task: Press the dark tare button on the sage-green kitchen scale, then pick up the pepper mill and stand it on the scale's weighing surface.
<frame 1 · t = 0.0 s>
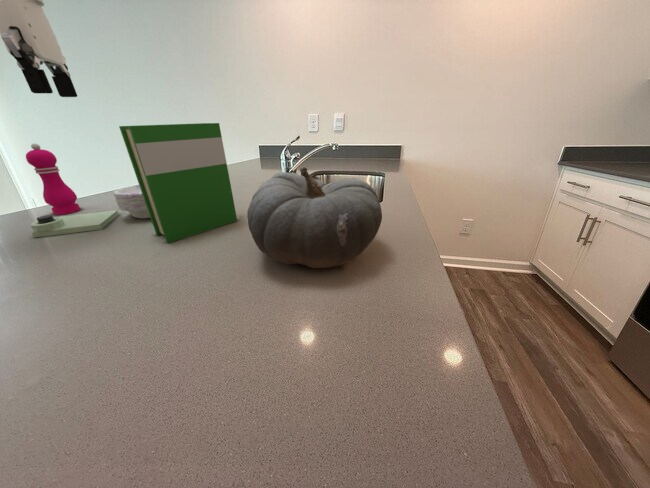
hand: (57, 95, 56), 30 cm above the counter, tool pointing down, fingers open, 9 cm apart
hardback book: (199, 227, 66), on the counter
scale: (80, 225, 70), on the counter
paper bowls: (154, 214, 77), on the counter
tare button: (45, 219, 64), point 3 cm above the counter, slide at 0.1 cm
pepper mill: (67, 212, 81), on the counter
gourd: (317, 250, 53), on the counter
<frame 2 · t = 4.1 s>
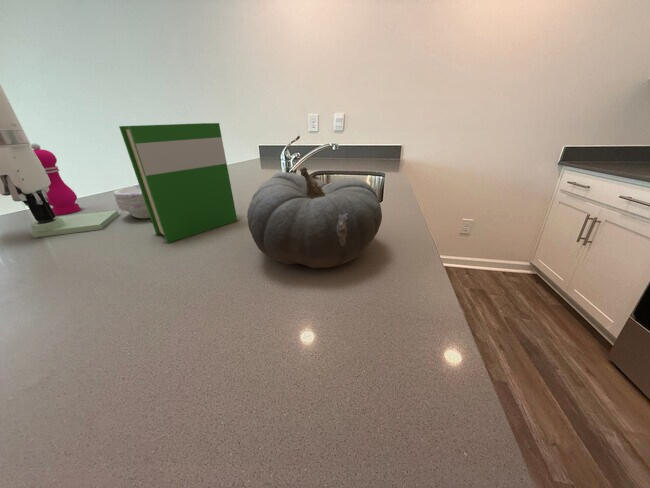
hand: (46, 219, 64), 4 cm above the counter, tool pointing down, fingers closed
tare button: (47, 222, 64), point 3 cm above the counter, slide at -0.5 cm, touching gripper
everything else where it was.
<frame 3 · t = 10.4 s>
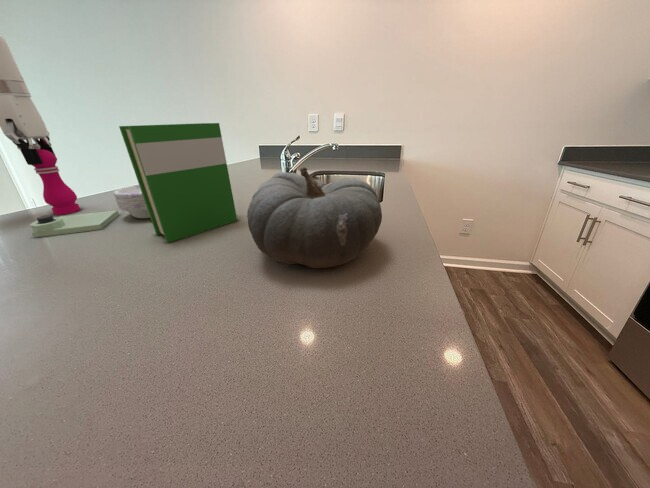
hand: (43, 162, 74), 15 cm above the counter, tool pointing down, fingers closed on pepper mill, 6 cm apart
tare button: (45, 219, 64), point 3 cm above the counter, slide at 0.1 cm
pepper mill: (67, 212, 81), on the counter, touching gripper
everything else where it was.
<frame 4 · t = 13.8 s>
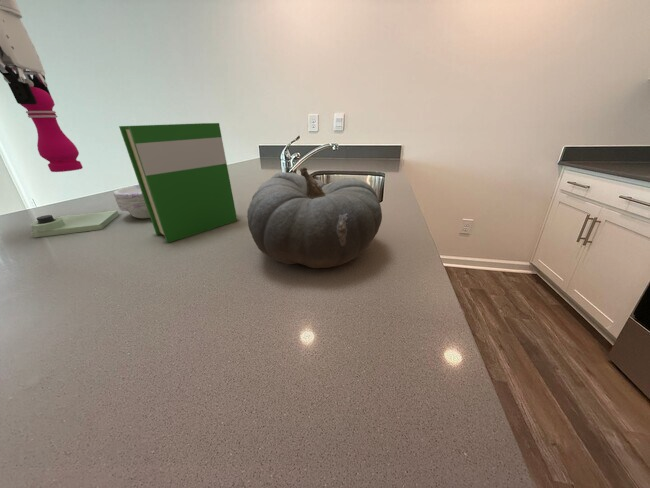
hand: (37, 104, 60), 29 cm above the counter, tool pointing down, fingers closed on pepper mill, 6 cm apart
pepper mill: (67, 170, 67), point 14 cm above the counter, touching gripper
everything else where it was.
when the fingers open (16 cm above the counter, at t = 17.3 s): pepper mill stays where it is, resting on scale.
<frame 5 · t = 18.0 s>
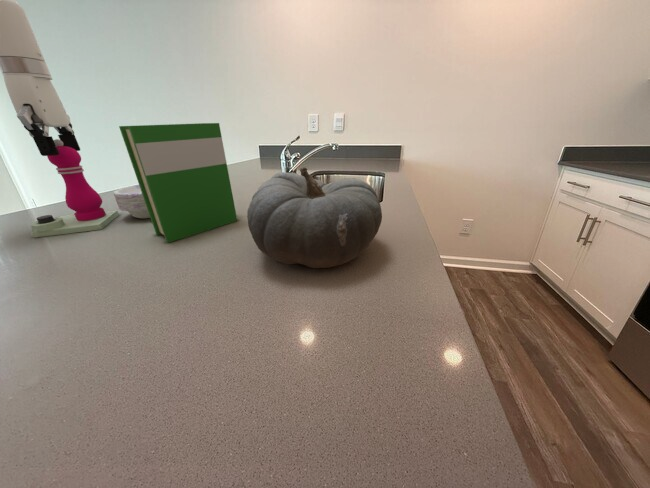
hand: (62, 153, 64), 18 cm above the counter, tool pointing down, fingers open, 9 cm apart
pepper mill: (92, 217, 71), point 1 cm above the counter, touching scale
everything else where it was.
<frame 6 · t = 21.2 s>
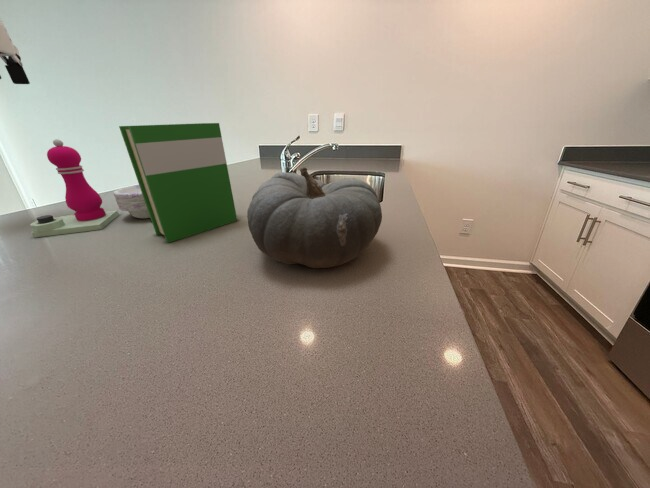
hand: (8, 81, 63), 34 cm above the counter, tool pointing down, fingers open, 9 cm apart
nothing on the counter moved.
at the end: tare button pushed in 0.9 cm at the most during the clip, back to where it started at the end; pepper mill inside the target area on the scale (0.1 cm from its centre), point 1.2 cm above the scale's base; pepper mill touching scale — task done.
